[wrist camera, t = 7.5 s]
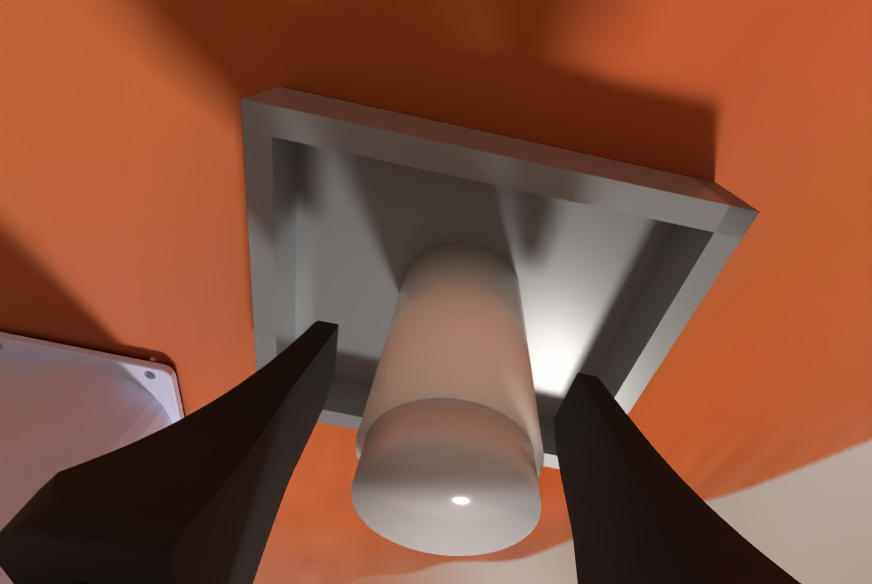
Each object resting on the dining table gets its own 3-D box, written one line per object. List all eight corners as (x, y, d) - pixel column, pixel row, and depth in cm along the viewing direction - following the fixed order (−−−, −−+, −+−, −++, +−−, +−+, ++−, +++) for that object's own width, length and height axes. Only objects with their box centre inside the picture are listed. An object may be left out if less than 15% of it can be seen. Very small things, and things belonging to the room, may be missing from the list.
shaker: (399, 333, 17) (344, 545, 10) (405, 234, 15) (338, 424, 8) (507, 347, 17) (526, 571, 10) (531, 251, 15) (576, 457, 8)
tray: (282, 368, 20) (258, 410, 17) (278, 86, 13) (240, 98, 11) (576, 427, 20) (588, 474, 18) (715, 182, 13) (759, 211, 11)
